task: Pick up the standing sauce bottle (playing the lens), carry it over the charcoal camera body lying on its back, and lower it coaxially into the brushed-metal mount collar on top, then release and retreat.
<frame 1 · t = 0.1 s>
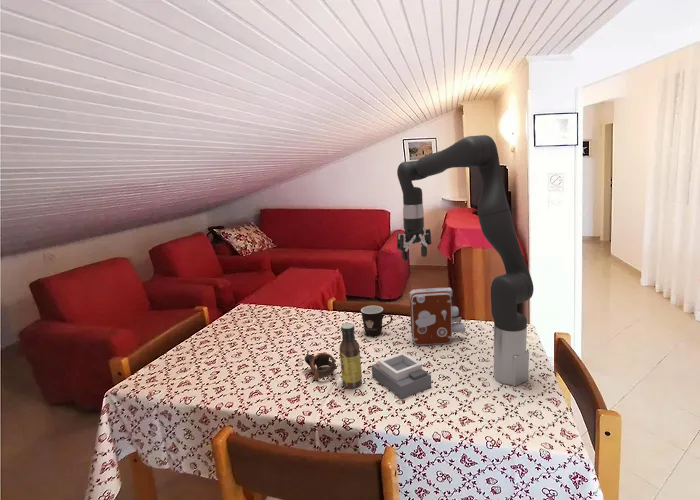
hand: (414, 258, 170), 29 cm above the table, fingers open, 8 cm apart
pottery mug: (321, 373, 149), on the table
cine camera: (438, 341, 167), on the table
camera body: (400, 381, 141), on the table
coffee mug: (376, 334, 176), on the table
sauce bottle: (352, 384, 141), on the table
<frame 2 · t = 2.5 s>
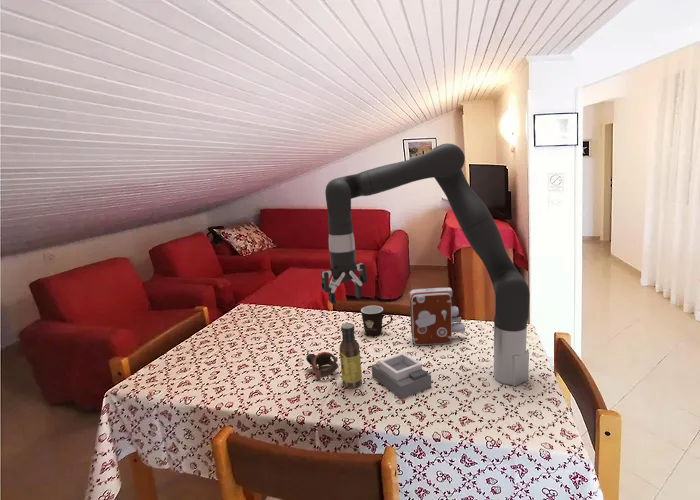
hand: (346, 300, 135), 28 cm above the table, fingers open, 8 cm apart
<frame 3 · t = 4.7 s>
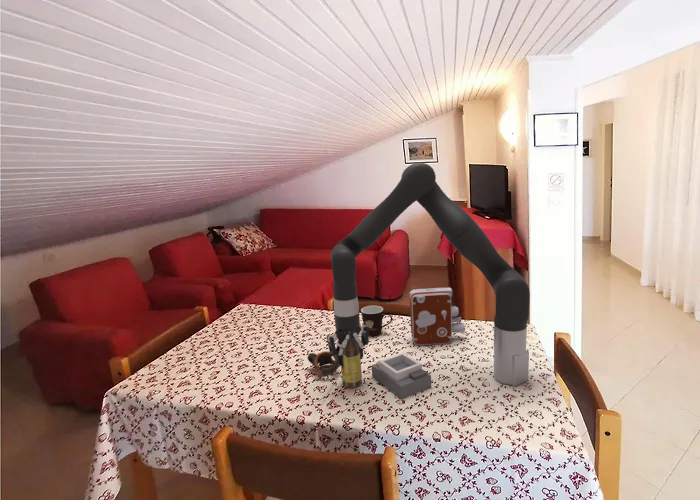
hand: (350, 361, 139), 8 cm above the table, fingers closed on sauce bottle, 6 cm apart
sauce bottle: (352, 384, 141), on the table, touching gripper
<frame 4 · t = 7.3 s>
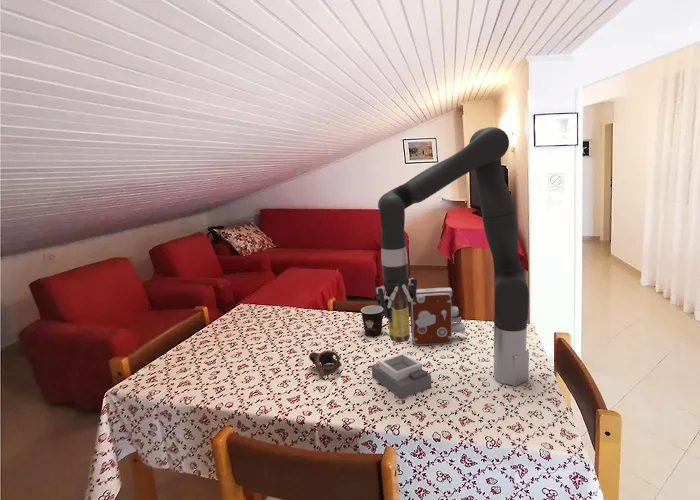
hand: (398, 315, 135), 22 cm above the table, fingers closed on sauce bottle, 6 cm apart
sauce bottle: (399, 339, 137), point 14 cm above the table, touching gripper
when the fingers open (12 cm above the table, at t = 9.9 s): sauce bottle stays where it is, resting on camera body.
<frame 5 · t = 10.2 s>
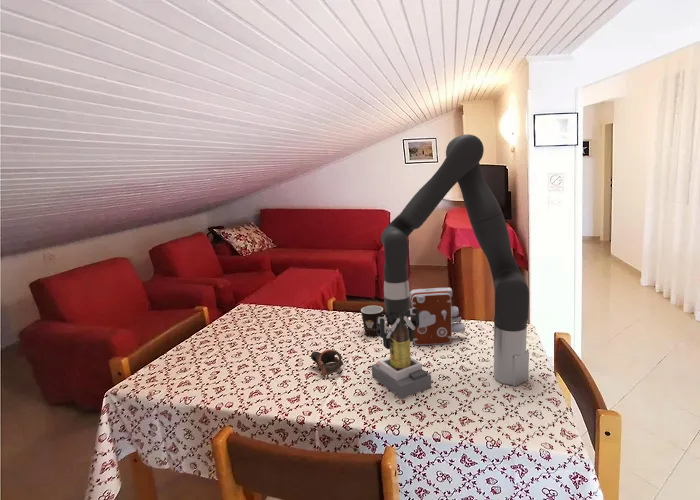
hand: (399, 344, 138), 13 cm above the table, fingers open, 8 cm apart
sauce bottle: (400, 370, 140), point 4 cm above the table, touching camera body
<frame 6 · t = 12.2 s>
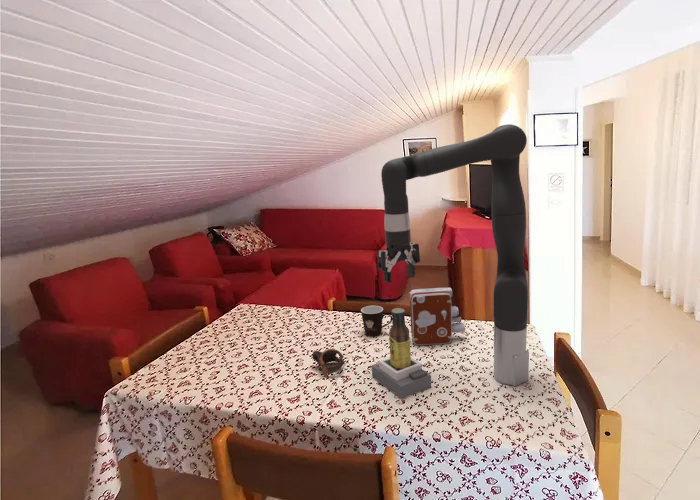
hand: (400, 280, 137), 32 cm above the table, fingers open, 8 cm apart
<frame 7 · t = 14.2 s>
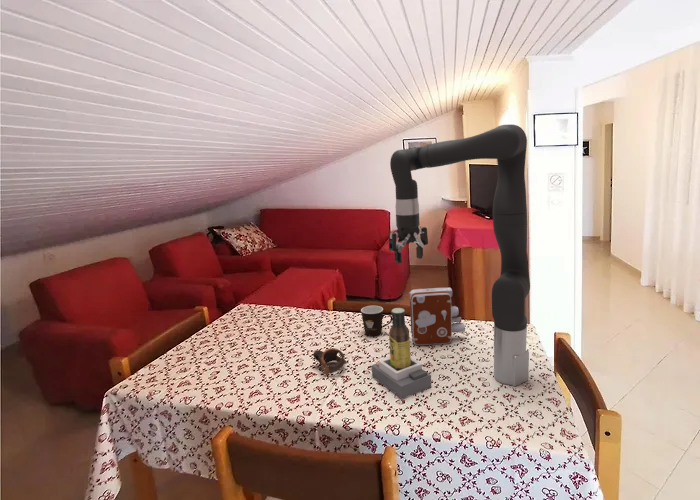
hand: (409, 260, 149), 34 cm above the table, fingers open, 8 cm apart
at the end: sauce bottle 0.2 cm off-centre on the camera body, point 3.8 cm above the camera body's base; sauce bottle tilted 0°; the gripper is holding nothing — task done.
